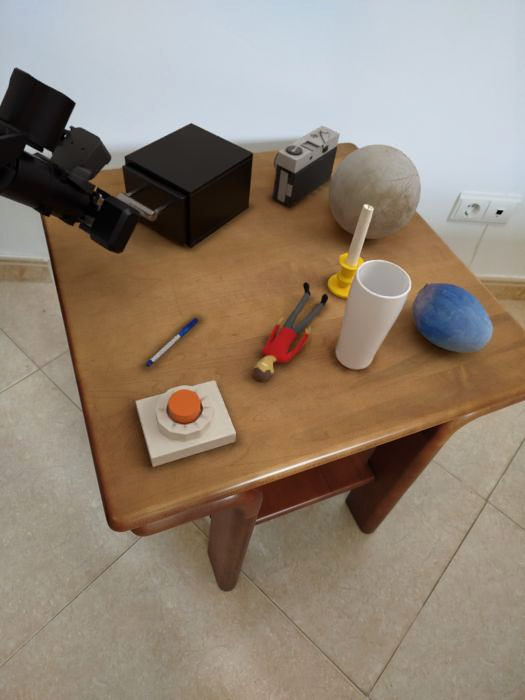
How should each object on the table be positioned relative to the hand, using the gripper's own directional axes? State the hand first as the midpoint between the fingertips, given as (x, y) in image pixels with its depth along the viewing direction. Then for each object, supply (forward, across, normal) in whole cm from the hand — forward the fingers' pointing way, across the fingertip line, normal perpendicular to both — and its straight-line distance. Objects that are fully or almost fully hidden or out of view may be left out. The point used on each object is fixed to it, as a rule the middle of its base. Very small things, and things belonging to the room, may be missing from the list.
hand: (116, 219), depth 72 cm
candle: (+18, -31, -8) cm, 36 cm away
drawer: (+13, 0, -5) cm, 14 cm away
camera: (+30, -9, -21) cm, 38 cm away
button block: (-7, -28, +17) cm, 34 cm away
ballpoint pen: (0, -18, +11) cm, 21 cm away
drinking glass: (+10, -39, 0) cm, 40 cm away
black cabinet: (+16, 0, -7) cm, 18 cm away
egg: (+18, -46, -8) cm, 50 cm away
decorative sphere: (+28, -26, -19) cm, 43 cm away
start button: (-9, -28, +14) cm, 33 cm away
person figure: (+7, -30, +3) cm, 31 cm away
